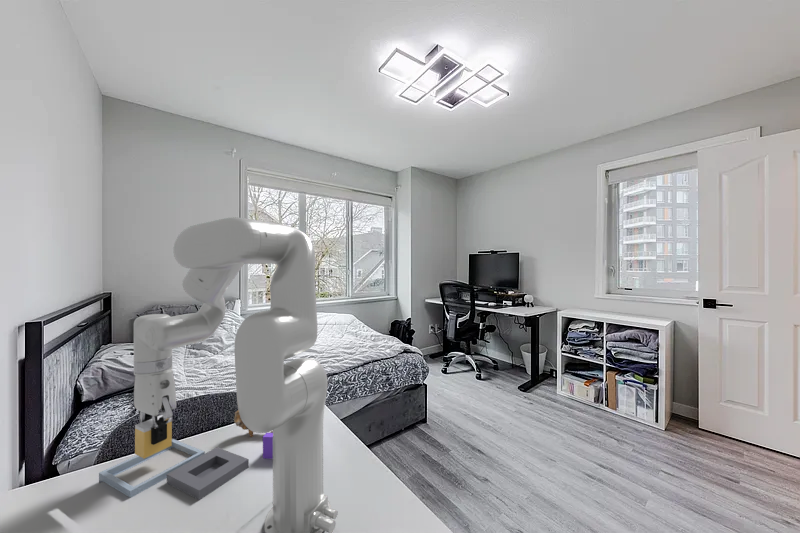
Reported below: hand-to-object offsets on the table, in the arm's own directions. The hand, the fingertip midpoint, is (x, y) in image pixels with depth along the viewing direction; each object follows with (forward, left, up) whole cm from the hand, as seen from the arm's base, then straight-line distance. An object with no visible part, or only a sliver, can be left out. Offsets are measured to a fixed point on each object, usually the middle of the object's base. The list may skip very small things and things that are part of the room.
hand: (153, 438), depth 78 cm
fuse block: (-15, -4, -8) cm, 18 cm away
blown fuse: (0, 0, -3) cm, 3 cm away
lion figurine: (-11, -22, -8) cm, 26 cm away
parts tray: (0, 0, -8) cm, 8 cm away
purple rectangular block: (-22, -21, -9) cm, 32 cm away
